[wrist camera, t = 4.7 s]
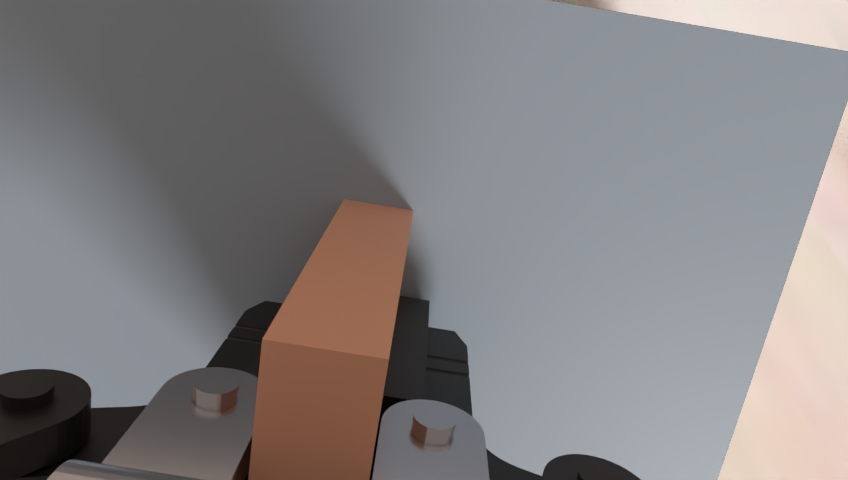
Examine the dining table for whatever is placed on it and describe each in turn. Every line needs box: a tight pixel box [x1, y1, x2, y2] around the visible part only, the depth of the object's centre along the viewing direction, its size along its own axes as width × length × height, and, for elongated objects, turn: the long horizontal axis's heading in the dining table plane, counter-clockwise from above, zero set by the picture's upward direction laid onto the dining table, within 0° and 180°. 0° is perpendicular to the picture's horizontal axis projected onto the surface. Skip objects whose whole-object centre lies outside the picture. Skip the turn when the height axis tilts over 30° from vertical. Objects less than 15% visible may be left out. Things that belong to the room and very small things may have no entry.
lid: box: [0, 0, 848, 480], centre depth 11 cm, size 14×12×8 cm
